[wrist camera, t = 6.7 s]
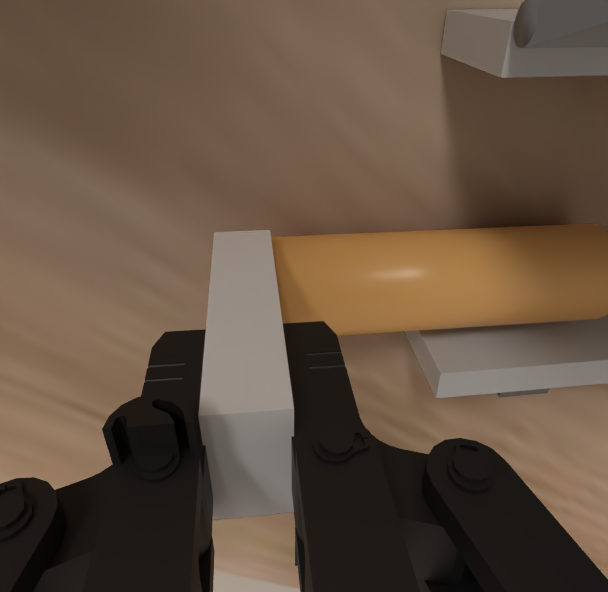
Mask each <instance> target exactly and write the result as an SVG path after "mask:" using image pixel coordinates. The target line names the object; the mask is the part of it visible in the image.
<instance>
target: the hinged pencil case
mask: <svg viewBox="0 0 608 592" xmlns="http://www.w3.org/2000/svg"><path fill="white" fill-rule="evenodd" d="M518 10H519V9H464V10H447V12H446V19H445V26H444V34H443V41H442V48H441V54H442V55H445V56H447V57H450V58H452V59H455V60H457V61H460V62H462V63H465V64H467V65H470V66H472V67H475V68H477V69H480V70H482V71H485V72H487V73H490V74H492V75H495V76H497V77H500V78H514V77H557V76H599V75H608V47H558V48H519V47H517V45H516V44H515V41H514V23H515V18H516V15H517V12H518ZM404 332H405V334H406V336H407V338H408V341H409V343H410V345H411V347H412V349H413V351H414V353H415V355H416V358H417V360H418V362H419V364H420V366H421V368H422V370H423V372H424V374H425V377H426V379H427V381H428V383H429V385H430V387H431V389H432V391H433V394H434V396H435V398H446V397H458V396H469V395H480V394H492V393H497V394H498V396H499V397H506V396H517V395H528V394H539V393H547V392H548V390H549V388H560V387H571V386H582V385H594V384H605V383H608V314H607V315H605V316H604V317H601V318H599V319H591V320H575V321H560V322H544V323H528V324H512V325H497V326H481V327H465V328H450V329H434V330H418V331H404Z"/></svg>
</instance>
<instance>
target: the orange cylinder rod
mask: <svg viewBox="0 0 608 592" xmlns="http://www.w3.org/2000/svg"><path fill="white" fill-rule="evenodd" d="M271 241H272V249H273V256H274V263H275V271H276V278H277V286H278V293H279V301H280V308H281V315H282V323H298V322H315V321H324V322H325V323H326V324H327V325H328V326H329V327H330V328H331V329H332V330H333V331H334V332H335V333H336V334H337V336H339V335H355V334H371V333H387V332H402V331H418V330H434V329H450V328H465V327H481V326H497V325H512V324H528V323H544V322H560V321H575V320H591V319H599V318H601V317H604V316H605V315H607V314H608V230H607V229H605V228H604V227H602V226H600V225H597V224H569V225H545V226H521V227H497V228H473V229H449V230H425V231H401V232H377V233H353V234H329V235H305V236H281V237H271Z"/></svg>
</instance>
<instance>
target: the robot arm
mask: <svg viewBox="0 0 608 592" xmlns="http://www.w3.org/2000/svg"><path fill="white" fill-rule="evenodd" d="M102 431H103V434H104V437H105V440H106V444H107V447H108V450H109V453H110V457H111V460H112V463H113V465H111V466H110V467H108V468H107V469H105V470H104V471H102V472H101V473H99V474H96V475H94V476H92V477H90V478H87V479H85V480H82V481H79V482H76V483H74V484H71V485H68V486H65V487H62V488H59V489H57V490H54V489H53V488H52V486H51V485H50V484H49V483H48V482H46V481H43V480H40V479H37V478H34V477H32V478H16V479H13V480H10V481H7V482H4V483H1V484H0V592H213V574H214V546H213V540H212V516H213V517H214V520H220V519H230V518H240V517H250V516H261V515H271V514H281V513H291V512H294V517H295V566H298V573H299V582H300V591H301V592H608V579H607V578H606V577H605V576H604V575H603V574H602V572H601V571H600V570H599V569H598V568H597V567H596V565H595V564H594V563H593V562H592V561H591V560H590V558H589V557H588V556H587V555H586V554H585V553H584V551H583V550H582V549H581V548H580V547H579V546H578V544H577V543H576V542H575V541H574V540H573V539H572V537H571V536H570V535H569V534H568V533H567V532H566V530H565V529H564V528H563V527H562V526H561V525H560V523H559V522H558V521H557V520H556V519H555V518H554V517H553V515H552V514H551V513H550V512H549V511H548V510H547V508H546V507H545V506H544V505H543V504H542V503H541V501H540V500H539V499H538V498H537V497H536V496H535V494H534V493H533V492H532V491H531V490H530V489H529V487H528V486H527V485H526V484H525V483H524V482H523V480H522V479H521V478H520V477H519V476H518V475H517V473H516V472H515V471H514V470H513V469H512V468H511V466H510V465H509V464H508V463H507V462H506V461H505V460H504V459H503V458H502V457H501V456H500V455H499V454H498V453H496V452H495V451H494V450H493V449H492V448H490V447H488V446H485V445H483V444H481V443H479V442H477V441H473V440H468V439H462V438H457V439H449V440H444V441H443V442H441V443H439V444H437V445H435V446H434V447H433V449H432V450H431V452H430V453H429V454H424V453H418V452H413V451H408V450H403V449H399V448H396V447H392V446H389V445H387V444H385V443H383V442H381V441H379V440H378V439H377V438H375V437H374V436H373V435H372V434H371V433H370V431H368V430H367V429H366V428H365V427H364V425H363V423H362V421H361V419H360V416H359V413H358V409H357V406H356V402H355V398H354V395H353V391H352V388H351V384H350V381H349V377H348V374H347V370H346V367H345V363H344V359H343V356H342V354H341V349H340V345H339V341H338V338H337V334H336V333H335V332H334V331H333V330H332V329H331V328H330V327H329V326H328V325H327V324H326V323H325V322H324V321H315V322H298V323H282V315H281V308H280V301H279V293H278V286H277V278H276V271H275V263H274V256H273V249H272V241H271V234H270V230H255V231H229V232H214V238H213V250H212V262H211V274H210V286H209V297H208V309H207V321H206V329H205V330H189V331H172V332H165V333H164V334H163V335H162V336H161V337H160V339H159V340H158V341H157V342H156V343H155V345H154V346H153V347H152V350H151V355H150V359H149V364H148V368H147V372H146V377H145V383H144V386H143V390H142V395H141V397H137V398H135V399H133V400H131V401H129V402H127V403H125V404H123V405H121V406H120V407H119V408H118V409H117V410H116V411H114V412H113V413H112V414H111V415H110V416H109V418H108V419H107V421H106V423H105V425H104V427H103V428H102Z"/></svg>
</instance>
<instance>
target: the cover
mask: <svg viewBox="0 0 608 592" xmlns="http://www.w3.org/2000/svg"><path fill="white" fill-rule="evenodd" d="M514 41H515V44H516V45H517V47H519V48H558V47H608V0H525V1H524V2H523V3H522V5H521V6H520V8H519V10H518V12H517V15H516V18H515V23H514Z"/></svg>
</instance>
